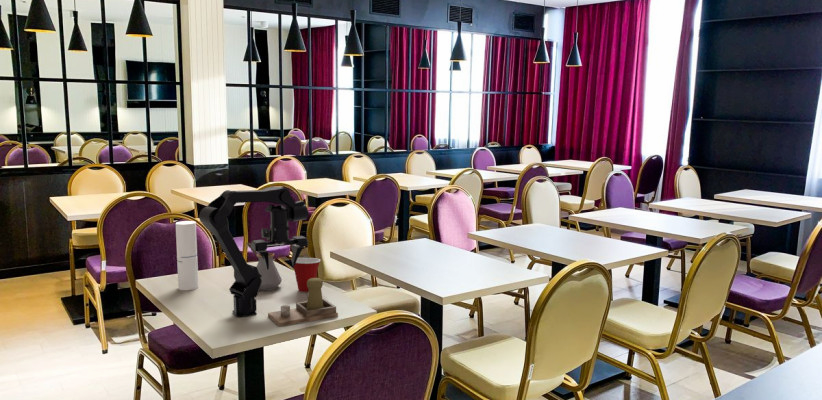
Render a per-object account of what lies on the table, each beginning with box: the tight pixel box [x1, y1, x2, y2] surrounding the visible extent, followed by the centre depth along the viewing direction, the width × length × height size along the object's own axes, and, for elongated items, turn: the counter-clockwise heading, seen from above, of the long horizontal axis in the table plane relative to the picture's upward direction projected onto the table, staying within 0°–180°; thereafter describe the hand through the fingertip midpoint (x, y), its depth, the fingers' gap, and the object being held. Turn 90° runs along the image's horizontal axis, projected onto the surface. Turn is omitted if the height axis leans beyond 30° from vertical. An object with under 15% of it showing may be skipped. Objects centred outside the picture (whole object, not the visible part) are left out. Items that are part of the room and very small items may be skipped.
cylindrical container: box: [175, 220, 199, 291], centre depth 236 cm, size 7×7×25 cm
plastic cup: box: [293, 257, 321, 293], centre depth 236 cm, size 11×11×12 cm
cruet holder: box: [267, 298, 339, 327], centre depth 206 cm, size 20×11×4 cm, turn 120°
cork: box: [306, 277, 324, 310], centre depth 208 cm, size 6×6×11 cm
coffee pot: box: [244, 242, 282, 291], centre depth 242 cm, size 21×12×15 cm, turn 40°
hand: (280, 267), depth 217 cm, fingers open, 9 cm apart
